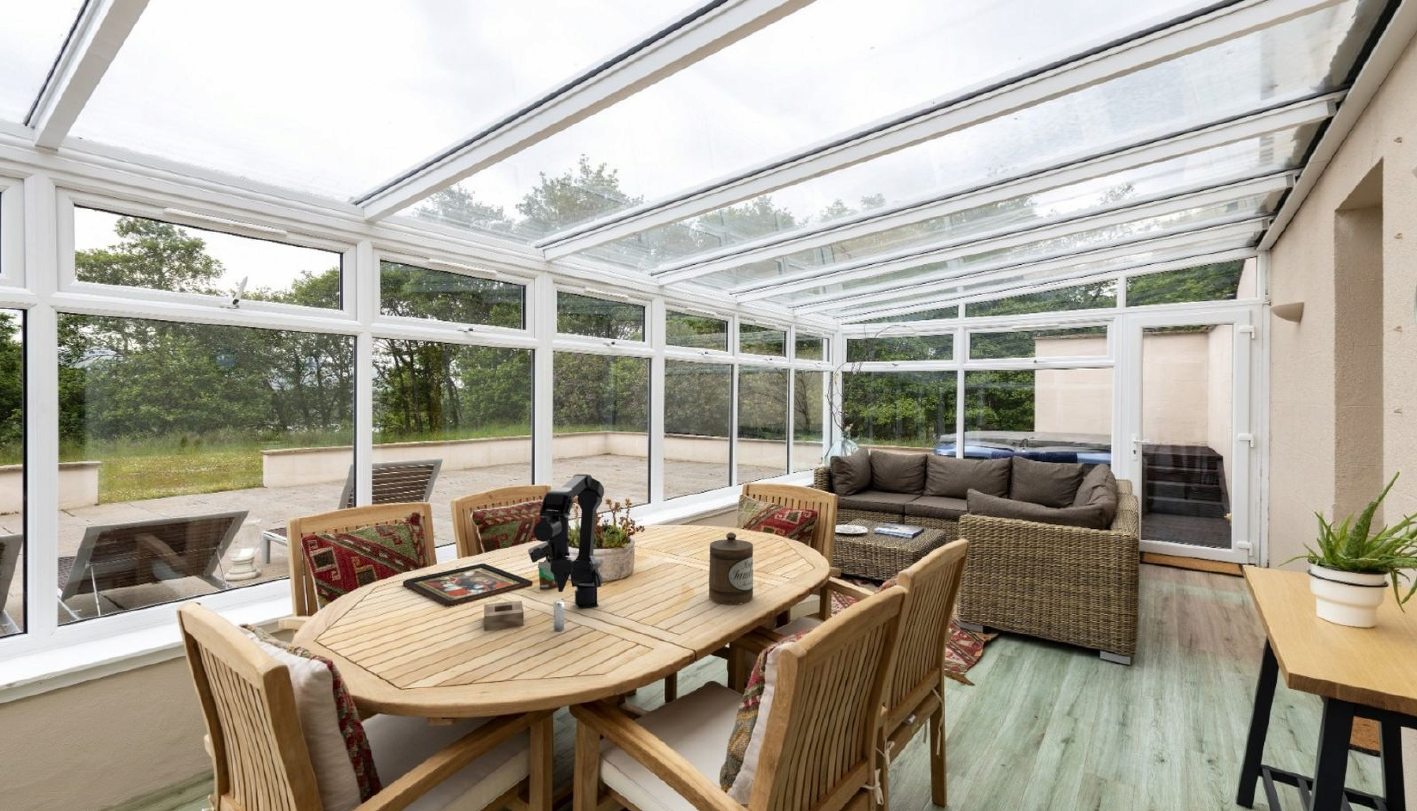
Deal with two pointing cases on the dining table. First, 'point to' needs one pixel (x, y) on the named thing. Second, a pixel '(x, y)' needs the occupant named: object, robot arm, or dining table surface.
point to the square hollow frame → (503, 615)
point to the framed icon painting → (466, 584)
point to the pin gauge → (559, 615)
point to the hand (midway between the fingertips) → (558, 587)
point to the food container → (546, 576)
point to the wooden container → (731, 571)
